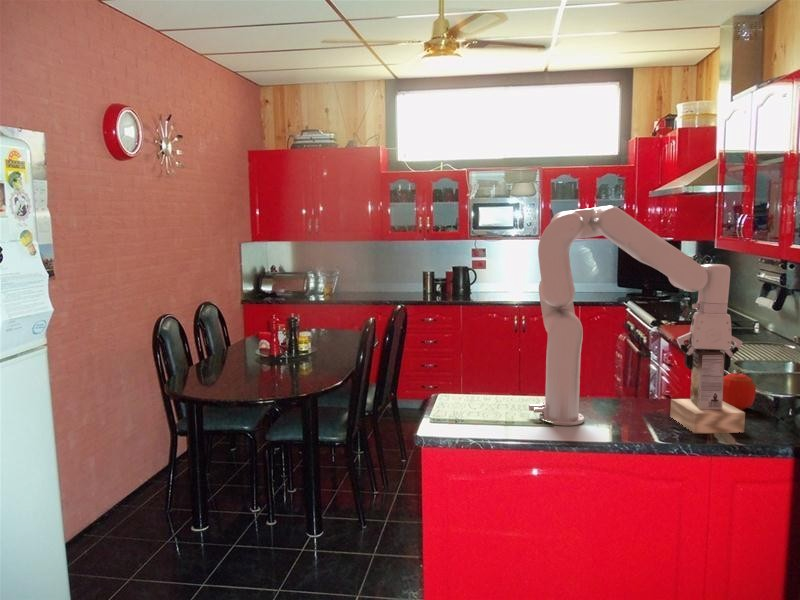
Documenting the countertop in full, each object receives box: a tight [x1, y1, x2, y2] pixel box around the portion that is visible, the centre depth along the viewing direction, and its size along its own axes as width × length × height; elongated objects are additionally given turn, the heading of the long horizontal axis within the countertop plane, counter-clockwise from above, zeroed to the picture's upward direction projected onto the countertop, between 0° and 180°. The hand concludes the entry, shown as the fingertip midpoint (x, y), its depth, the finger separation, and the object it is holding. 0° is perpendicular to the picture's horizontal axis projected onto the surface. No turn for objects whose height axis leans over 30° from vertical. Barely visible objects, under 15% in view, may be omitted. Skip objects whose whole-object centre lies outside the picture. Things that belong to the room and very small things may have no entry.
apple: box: [723, 372, 757, 411], centre depth 200 cm, size 10×10×12 cm
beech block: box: [669, 398, 746, 434], centre depth 184 cm, size 14×14×6 cm
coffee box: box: [690, 349, 725, 410], centre depth 183 cm, size 9×6×16 cm
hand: (706, 368), depth 182 cm, fingers open, 9 cm apart
